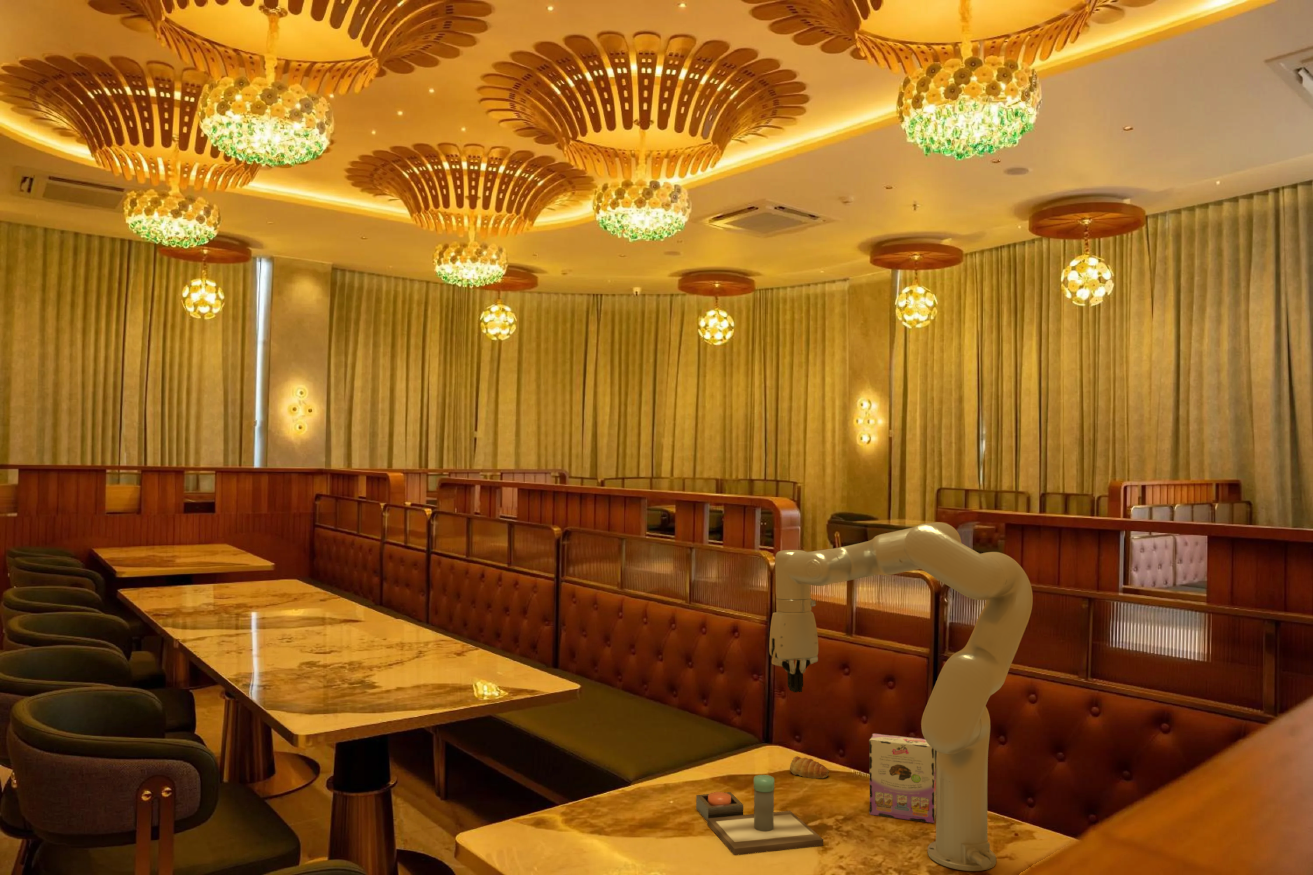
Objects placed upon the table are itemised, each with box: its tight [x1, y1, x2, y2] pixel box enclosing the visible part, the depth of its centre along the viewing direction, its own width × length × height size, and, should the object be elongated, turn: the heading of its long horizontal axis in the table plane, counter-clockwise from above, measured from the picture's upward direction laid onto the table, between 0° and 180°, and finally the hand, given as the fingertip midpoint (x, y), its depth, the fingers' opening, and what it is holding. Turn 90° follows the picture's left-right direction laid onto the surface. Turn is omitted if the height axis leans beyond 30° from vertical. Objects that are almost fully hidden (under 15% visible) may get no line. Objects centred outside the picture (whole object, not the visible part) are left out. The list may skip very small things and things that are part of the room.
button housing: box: [695, 791, 744, 821], centre depth 196 cm, size 8×8×3 cm
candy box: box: [868, 733, 936, 824], centre depth 197 cm, size 14×6×16 cm, turn 69°
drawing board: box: [706, 810, 824, 856], centre depth 185 cm, size 16×19×1 cm
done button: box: [708, 791, 731, 806], centre depth 196 cm, size 5×5×2 cm
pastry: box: [789, 755, 830, 780], centre depth 223 cm, size 9×7×4 cm
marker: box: [753, 774, 775, 831], centre depth 185 cm, size 4×4×10 cm
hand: (795, 690), depth 197 cm, fingers closed
